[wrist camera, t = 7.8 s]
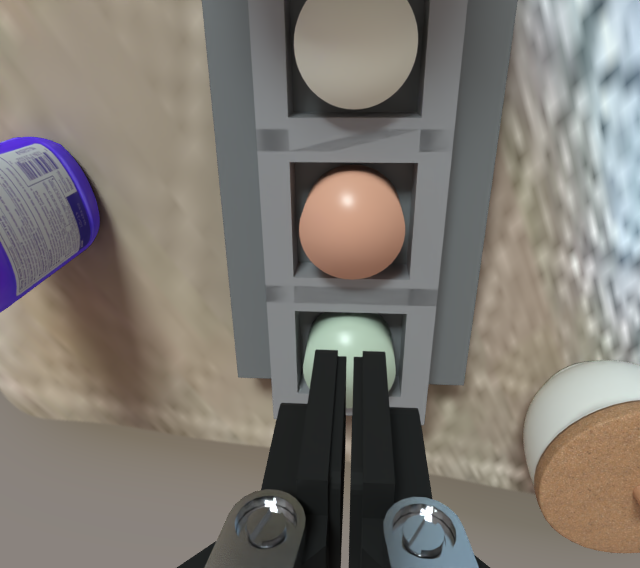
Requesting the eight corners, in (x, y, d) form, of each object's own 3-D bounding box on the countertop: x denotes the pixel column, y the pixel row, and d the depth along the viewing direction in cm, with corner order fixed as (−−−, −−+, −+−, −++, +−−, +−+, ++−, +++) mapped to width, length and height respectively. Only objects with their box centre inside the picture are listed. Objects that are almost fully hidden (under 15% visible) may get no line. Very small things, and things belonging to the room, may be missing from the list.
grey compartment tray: (509, -66, 24) (544, -90, 19) (452, 376, 35) (466, 426, 30) (212, -59, 25) (180, -81, 20) (249, 369, 35) (233, 417, 31)
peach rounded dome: (403, 164, 25) (408, 179, 23) (397, 257, 28) (402, 280, 25) (304, 164, 26) (297, 178, 23) (306, 255, 28) (300, 278, 25)
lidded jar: (668, 445, 36) (762, 570, 27) (512, 466, 38) (555, 590, 29) (671, 316, 32) (785, 417, 23) (494, 347, 33) (540, 452, 25)
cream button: (415, -21, 22) (422, -30, 19) (407, 101, 24) (413, 109, 21) (299, -19, 22) (291, -27, 20) (302, 101, 24) (295, 109, 22)
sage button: (394, 305, 29) (398, 333, 26) (390, 377, 31) (393, 410, 28) (307, 303, 29) (302, 330, 27) (308, 374, 31) (304, 406, 29)
